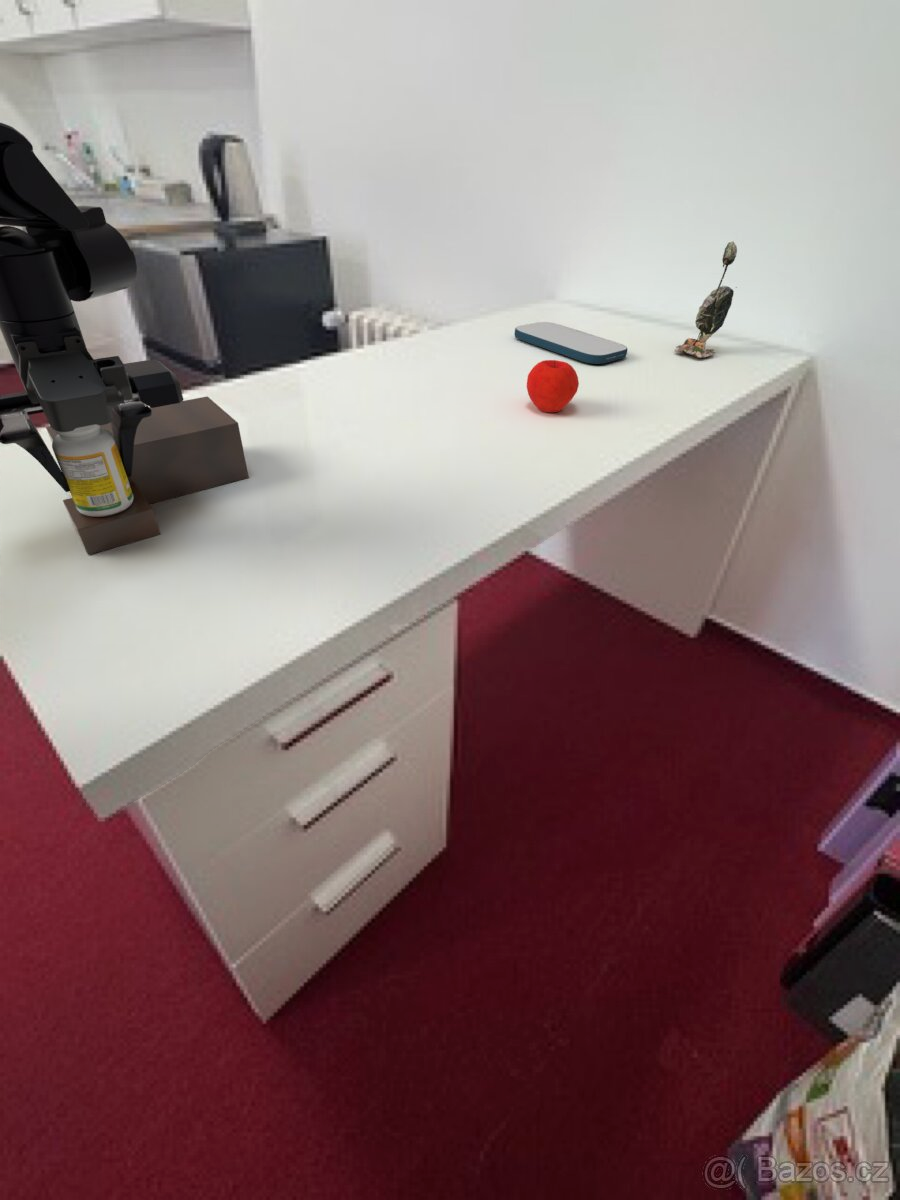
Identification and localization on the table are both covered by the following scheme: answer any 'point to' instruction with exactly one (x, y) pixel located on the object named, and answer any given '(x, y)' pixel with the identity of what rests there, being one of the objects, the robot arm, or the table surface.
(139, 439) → the step shelf
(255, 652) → the table surface
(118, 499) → the supplement bottle
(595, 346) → the external hard drive
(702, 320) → the plant with pod
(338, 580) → the table surface
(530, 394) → the apple
